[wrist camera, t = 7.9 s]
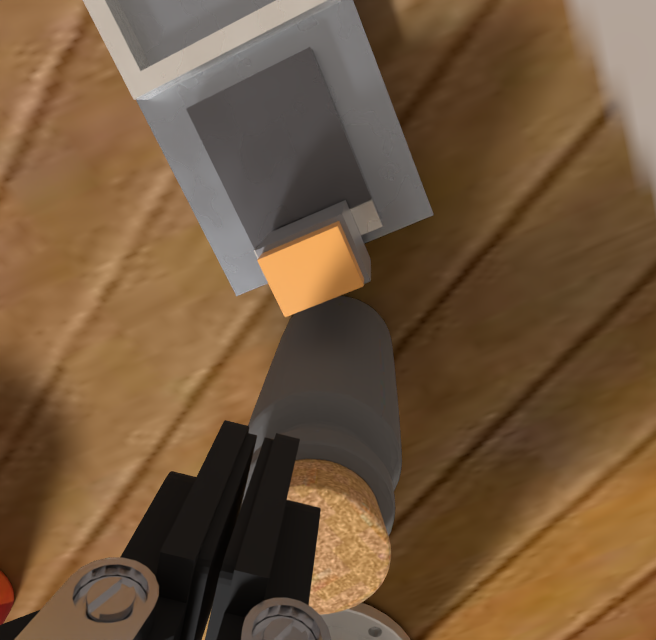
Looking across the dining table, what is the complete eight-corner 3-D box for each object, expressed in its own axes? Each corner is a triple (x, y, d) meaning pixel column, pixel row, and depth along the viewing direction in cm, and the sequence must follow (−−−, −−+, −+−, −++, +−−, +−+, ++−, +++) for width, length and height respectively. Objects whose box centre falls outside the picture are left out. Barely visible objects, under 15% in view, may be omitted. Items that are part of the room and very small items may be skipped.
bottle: (371, 279, 29) (372, 444, 15) (406, 377, 31) (437, 608, 17) (265, 314, 30) (173, 499, 16) (305, 407, 32) (254, 647, 18)
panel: (429, 207, 27) (437, 221, 24) (245, 283, 29) (229, 306, 26) (255, -256, 22) (234, -320, 18) (41, -121, 24) (-12, -157, 20)
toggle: (371, 259, 25) (370, 289, 21) (295, 290, 25) (282, 323, 22) (345, 200, 24) (340, 218, 20) (269, 232, 25) (249, 257, 21)
